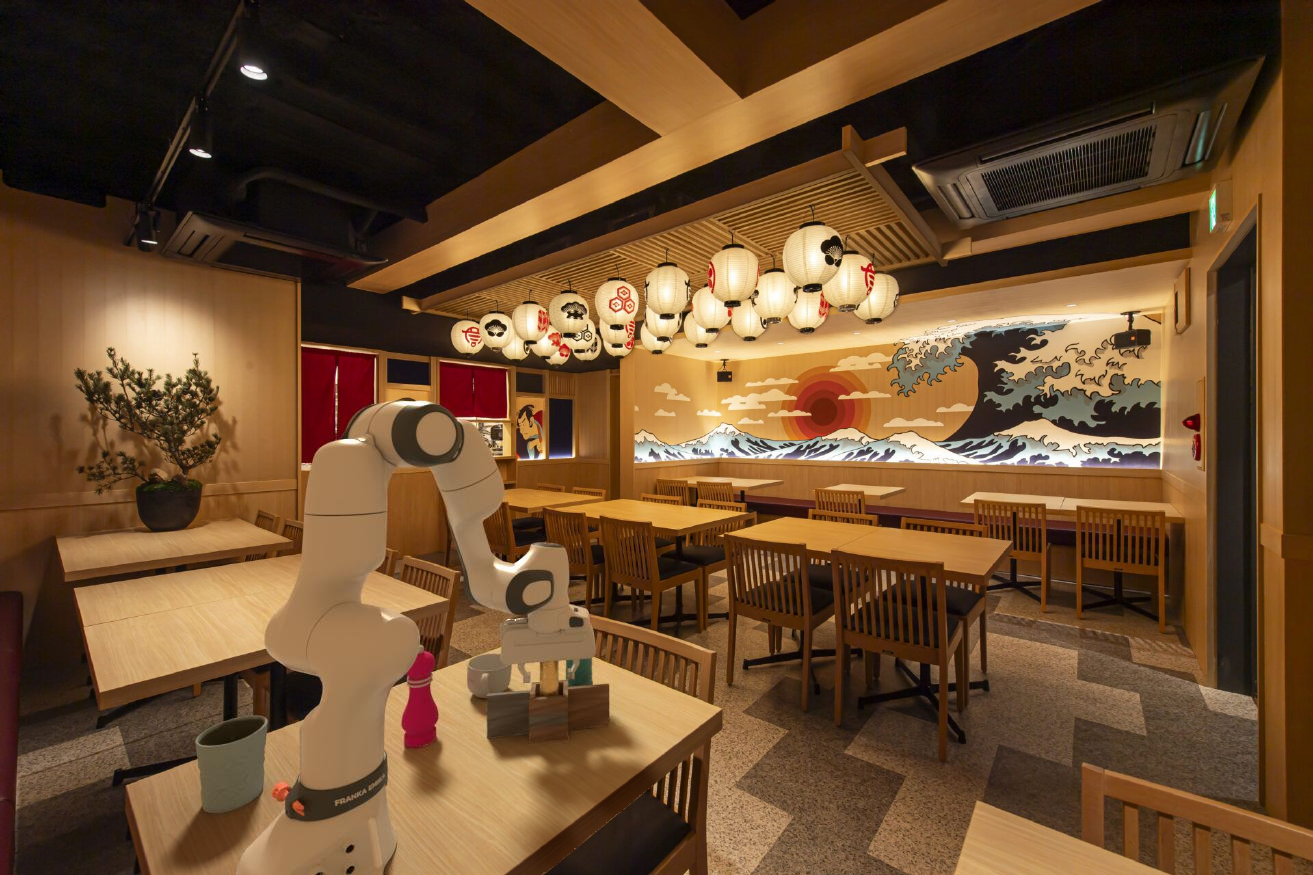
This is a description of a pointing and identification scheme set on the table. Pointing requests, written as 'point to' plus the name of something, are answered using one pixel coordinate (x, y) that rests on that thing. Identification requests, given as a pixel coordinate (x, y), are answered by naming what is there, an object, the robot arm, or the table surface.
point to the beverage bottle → (580, 673)
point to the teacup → (487, 675)
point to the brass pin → (549, 678)
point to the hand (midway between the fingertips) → (549, 679)
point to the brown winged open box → (547, 712)
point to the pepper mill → (420, 703)
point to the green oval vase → (231, 763)
